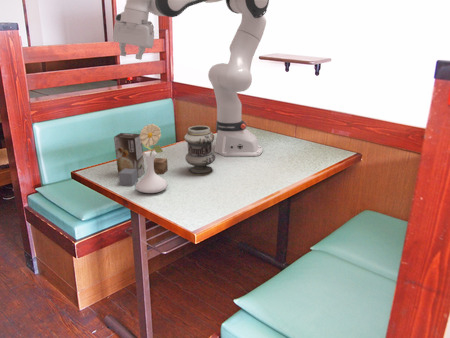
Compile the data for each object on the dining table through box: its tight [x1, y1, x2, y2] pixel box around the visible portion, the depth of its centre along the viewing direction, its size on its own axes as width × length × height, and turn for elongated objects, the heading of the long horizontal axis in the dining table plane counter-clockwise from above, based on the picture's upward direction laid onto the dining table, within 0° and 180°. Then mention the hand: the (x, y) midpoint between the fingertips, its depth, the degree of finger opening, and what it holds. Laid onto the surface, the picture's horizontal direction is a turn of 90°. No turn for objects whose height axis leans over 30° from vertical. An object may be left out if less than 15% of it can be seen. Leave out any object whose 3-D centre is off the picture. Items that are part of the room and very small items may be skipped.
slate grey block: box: [118, 168, 139, 187], centre depth 156 cm, size 5×5×5 cm
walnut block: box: [154, 157, 169, 175], centre depth 167 cm, size 5×5×5 cm
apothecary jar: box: [183, 125, 216, 176], centre depth 165 cm, size 12×12×18 cm
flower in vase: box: [135, 123, 169, 194], centre depth 146 cm, size 13×11×25 cm
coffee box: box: [113, 132, 146, 178], centre depth 163 cm, size 9×6×16 cm
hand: (130, 57), depth 157 cm, fingers open, 8 cm apart
